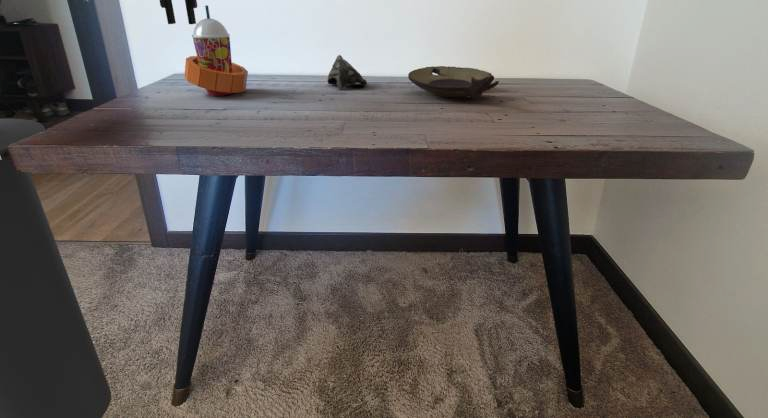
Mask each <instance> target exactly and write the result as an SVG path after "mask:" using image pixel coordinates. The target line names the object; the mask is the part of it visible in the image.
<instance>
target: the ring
mask: <svg viewBox="0 0 768 418" xmlns="http://www.w3.org/2000/svg"><path fill="white" fill-rule="evenodd" d="M184 64H185V65H184V75H183V76H184V79H185V80H186V81H187V82H188V83H190V84H192V85H194V86H196V87H199V88H202V89H204V88H205V89H209V90H213V91H218V92H227V93H231V94H234V93H235V94H236V93H242V92H244V91H245V90H246V89H247V82H248V74H249V71H248V70H247V69H246V68H245V66H241V65H240V64H237V63H235V62H232V73H228V72H221V71H215V70H211V69H208V68H204V67H202V66H200V65H199V63H198V58H197V55H191V56H189V57H186V58H185V63H184ZM205 89H204V90H205Z"/></svg>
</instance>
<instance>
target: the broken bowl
mask: <svg viewBox="0 0 768 418" xmlns="http://www.w3.org/2000/svg"><path fill="white" fill-rule="evenodd" d="M407 78H408V80H409V81H410V82H411V83H412V84H414V85H415V86H417V87H418V88H420V89H422V90H424V91H426V92H428V93H430V94H433V95H436V96H439V97H444V98H451V99H452V98H453V99H458V98H459V99H460V98H468V97H469V98H471V99H477V98H479V97H481V95H483V94H484V93H485V92H488V91H489V90H492V89H493V88H496V87H497V86H498V85H499V84H500V82H499V81H500V80H496V81H494V80H495V76H494V75H493V74H492V73H491V72H488V71H485V70H482V69H478V68H474V67H461V66H460V67H459V66H457V67H456V66H447V65H446V66H445V65H437V66H436V65H435V66H425V67H419V68H417V69H414V70H411V71H410V72H409V73H408V74H407ZM493 81H494V82H493Z"/></svg>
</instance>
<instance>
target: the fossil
mask: <svg viewBox="0 0 768 418" xmlns="http://www.w3.org/2000/svg"><path fill="white" fill-rule="evenodd" d="M326 82H327V84H328V85H336V86H337V88H338V90H342V89H344V88H346V87H348V86H354V85H356V84H359V85H361V86H362V87H365V86H366V85H367V84H368V81H367V79H365V78H363V76H362V74H360V72H359V71H358V70H357V69H356V68H354V67H353V65H352V64H351V63H349V62H348V61H347V60H346V59H344V57H343V56H342V55H341V54H338V55H337V56H336V57H335V60H334V63H333V64H332V66H331V69H330V71H329V73H328V75H327V81H326Z"/></svg>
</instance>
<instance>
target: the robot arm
mask: <svg viewBox="0 0 768 418" xmlns="http://www.w3.org/2000/svg"><path fill="white" fill-rule="evenodd" d="M184 2H185V9H186V14H187V22H188V25H197V21H196V15H195V9H197V8H198V0H184ZM159 6H160V7H161V8H162V9H165V14H166V20H167V24H168V25H176V24H177V21H176V17H175V12H174V6H173V0H159Z"/></svg>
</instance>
